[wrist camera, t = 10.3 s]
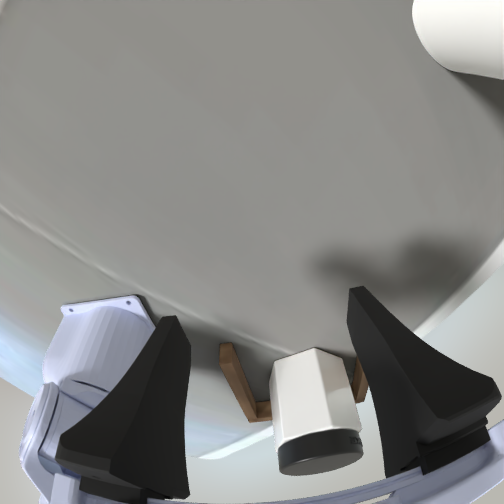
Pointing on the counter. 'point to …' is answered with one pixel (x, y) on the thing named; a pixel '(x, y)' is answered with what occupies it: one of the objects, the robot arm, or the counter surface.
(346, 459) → the jar
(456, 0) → the cylindrical container
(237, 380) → the bay
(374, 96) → the counter surface
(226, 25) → the counter surface
